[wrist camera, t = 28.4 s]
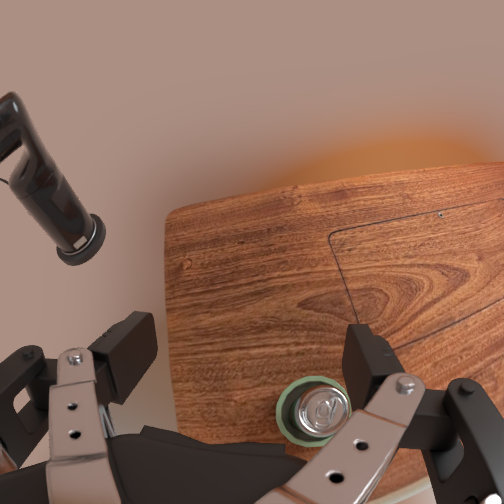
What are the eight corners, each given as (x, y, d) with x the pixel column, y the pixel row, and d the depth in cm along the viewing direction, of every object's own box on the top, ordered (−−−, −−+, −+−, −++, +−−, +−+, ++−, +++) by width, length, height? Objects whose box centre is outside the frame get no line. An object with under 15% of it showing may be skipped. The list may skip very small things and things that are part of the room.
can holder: (265, 429, 32) (263, 431, 26) (290, 374, 35) (293, 365, 30) (324, 450, 29) (334, 455, 24) (347, 394, 33) (361, 388, 28)
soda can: (331, 396, 33) (355, 384, 23) (326, 434, 30) (349, 439, 20) (291, 393, 33) (298, 380, 23) (285, 431, 31) (290, 436, 21)
